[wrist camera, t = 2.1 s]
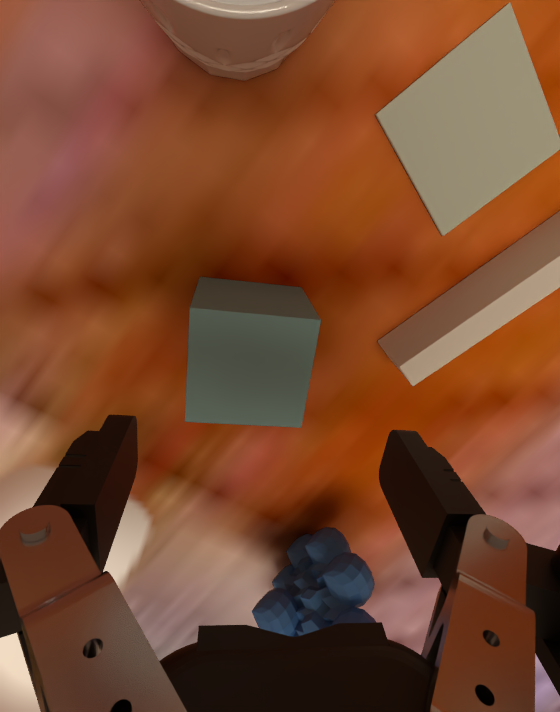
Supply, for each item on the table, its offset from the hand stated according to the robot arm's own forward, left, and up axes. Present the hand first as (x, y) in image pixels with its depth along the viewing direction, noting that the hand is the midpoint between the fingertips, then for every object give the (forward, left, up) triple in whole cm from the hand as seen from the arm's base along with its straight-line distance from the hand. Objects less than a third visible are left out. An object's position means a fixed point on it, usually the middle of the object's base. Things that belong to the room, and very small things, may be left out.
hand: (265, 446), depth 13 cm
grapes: (-8, -15, -11) cm, 21 cm away
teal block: (0, 0, -11) cm, 11 cm away
